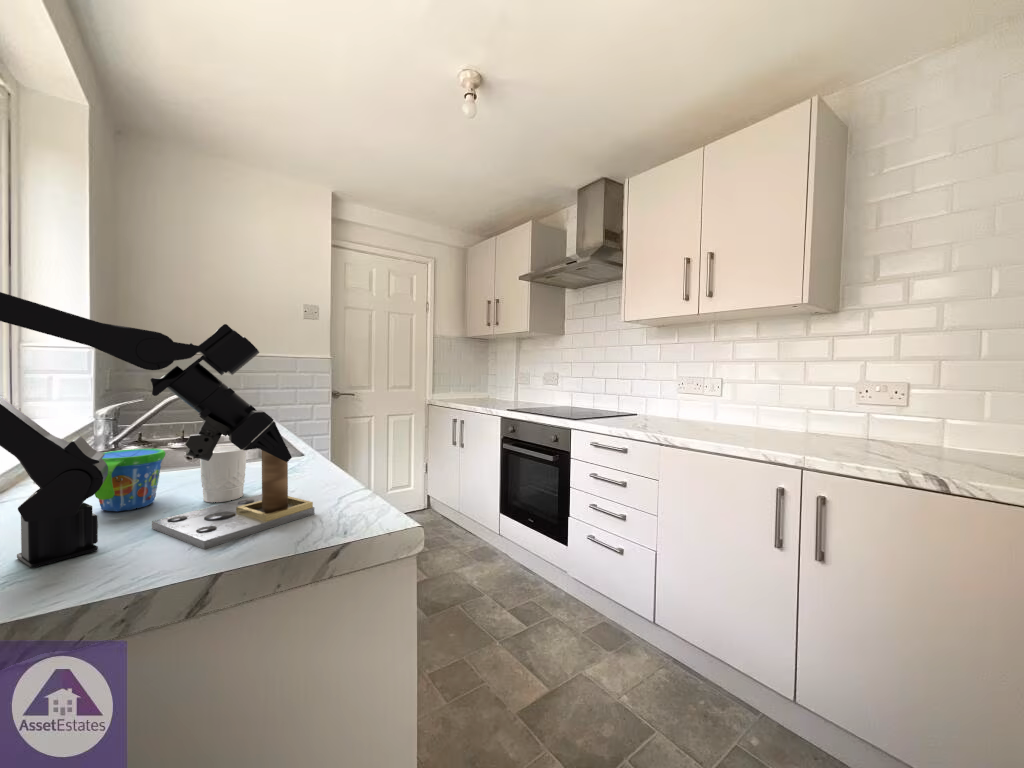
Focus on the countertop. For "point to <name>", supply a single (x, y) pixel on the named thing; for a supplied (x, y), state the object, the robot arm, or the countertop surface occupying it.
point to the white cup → (223, 474)
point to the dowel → (274, 483)
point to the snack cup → (130, 479)
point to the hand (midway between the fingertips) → (284, 455)
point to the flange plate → (229, 521)
